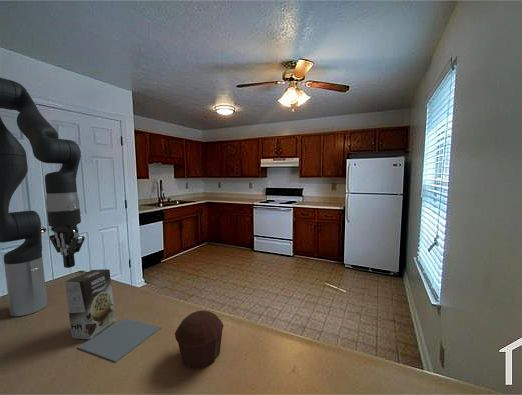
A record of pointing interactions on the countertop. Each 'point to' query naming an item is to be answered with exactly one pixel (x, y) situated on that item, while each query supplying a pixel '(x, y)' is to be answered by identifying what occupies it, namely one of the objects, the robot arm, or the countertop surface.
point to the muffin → (199, 339)
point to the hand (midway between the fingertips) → (69, 266)
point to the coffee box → (90, 303)
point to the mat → (119, 339)
